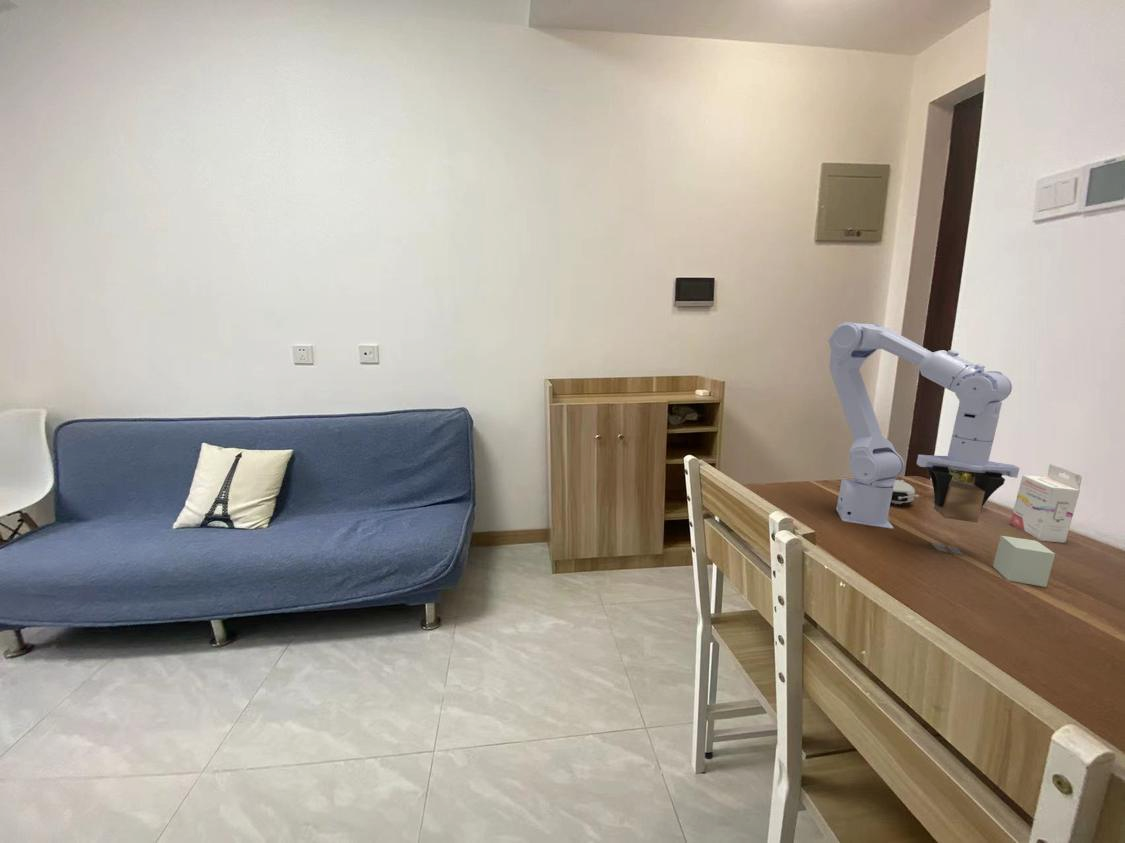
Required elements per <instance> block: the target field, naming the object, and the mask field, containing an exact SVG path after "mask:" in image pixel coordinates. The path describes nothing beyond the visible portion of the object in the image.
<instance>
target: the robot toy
mask: <svg viewBox="0 0 1125 843" xmlns="http://www.w3.org/2000/svg"><path fill="white" fill-rule="evenodd" d="M848 479H851V478H850V477H849V478H848ZM842 480H843V479H841V480H840V482H842ZM915 492H916V490H915V488H914V487H913V486H912V485H911V484H909V483H908V482H905V480H904V479H901V480H899V479H895V483H894V488H893V493H892V498H891V502H892V503H891V504H893V503H896V504H895V505H897V504H899V505H902V504H903V503H904V504H905V503H911V502H913V501H914V499H915V498H918V497H920V495H919V494H915Z"/></svg>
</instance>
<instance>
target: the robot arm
mask: <svg viewBox="0 0 1125 843" xmlns="http://www.w3.org/2000/svg"><path fill="white" fill-rule="evenodd" d="M832 331H833V332H832V333H831V335H830V337H829V338H828V340H827V342H828V345H829V347H830V357H829V366H828V367H829V371H830V375H831V378H832V381H833V384H834V387H835V389H836V393H837V394H838V396H837V397H838V398H839V401H840V404H841V408H842V410H843V411H842V412H843V413H844V416H845V419H846V422H847V425H848V428H849V431H850V435H851V437H852V440H853V443H852V445H851V447H850V448H849V450H848V454H849V458H850V462H849V470H850V473H851V475H852V477H853V478H850V479H849V478H842V479H841V480H842V482H841V481H840V482H841V483H840V485H839V486H840V487H839V493H838V496H837V497H838V500H837V505H836V508H835V510H836V511H837V513H838V516H839V517H840V519H841V521H842V522H845V523H846V522H847V523H853V524H861V525H866V526H873V527H879V528H887V529H894V526H893V525H892V523H891V522H890V520H889V519H888V518H889V513H890V508H891V507H890V506H891V504H892V503H891V498H892V493H893V488H894V483H895V480H896V478H898V477H899V476H901V475H902V474H903V472H904V470H905V462H904V459H903V457H902V456H901V455H900V454H899V453H898V452H897V451H896V449H895V447H894V444H893V443H892V442H891V441H889V440H888V439H887V438H886V437H885V436H884V435H883V433H882V431H881V428H880V425H879V421H878V419H877V416H876V413H875V410H874V408H873V405H872V402H871V399H870V397H869V394H868V391H867V387H866V385H865V383H864V380H863V376H862V374H861V371H860V369H861V367H862V366H863V364H864V362H865V361H866V360H867V359H868V358H870V357H871V356H872V355H873V354H874V353H875V352H877V350H883V351H886V352H888V353H890V354H891V355H894V356H896V357H897V358H898V357H899V358H900V359H903V360H905V361H907V362H910V363H911V364H914V365H916V366H918V367H919V371H920V374H921V376H922V377H924V378H926V379H928V380H929V381H931V382H933V383H935V384H938V385H939V386H942V387H943V388H944V389H946V390H948V391H951V392H952V393H954V394H955V396H956V398H957V399H958V401H959V404H958V408H957V412H956V416H955V421H954V424H953V430H952V435H951V440H950V443H949V449H948V452H947V455H931V454H930V455H928V454H927V455H926V454H918V455H917V459H916V465H917V466H918V467H921V468H926V469H927V472H928V474H929V477H930V480H931V482H932V488H933V496H934V502H933V503H934V505H935V504H936V505H937V506H939V507H943V505H944V502H945V497H946V492H947V489H948V486H949V483H950V481H951V479H952V477H953V476H952V475H951V474H950V473H949V471H948V469H953V470H961V471H970V472H975V486H977V487H979V488H980V489H982V490H983V491H985V494H984V498H983V502H982V507H981V510H982V508H983V507H984V505H985V504H986V502H987V501H988V500H989V498H990V497H991V496H992V495H993V494H994V493H995V492H996V491H997V490H998V489H999V488H1000V487H1002V486H1003V485H1004V484H1005V481H1006V478H1004V477H1003V476H1006V477H1009V478H1015V479H1016V478H1018V476H1019V472H1020V467H1019V466H1018V465H1015V464H1009V463H1002V462H997V461H996V462H995V461H991V460H989V459H990V456H991V452H992V447H993V445H994V444H993V443H994V439H995V435H996V431H997V427H998V423H999V418H1000V412H1001V408H1002V406H1003V405H1002V404H1003V401H1004V400H1006V399H1007V398H1008V397H1009V396H1010V395H1011V392H1012V389H1013V385H1012V381H1011V380H1010V379H1009V378H1008V377H1007V376H1006V375H1005V374H1003V373H1002V372H1001V371H998V370H988V371H985V368H986V366H985V365H983V364H981V363H977V364H974V363H973V362H970V361H968V360H965V359H964V358H962V357H959V354H960V353H959V352H958V351H956V350H948V351H947V350H945V349H944V350H943V349H942V350H937V351H934V352H932V351H931V350H928V348H925V347H924V346H922V345H919V344H918V343H917V342H915V341H913V340H911V339H908V338H907V337H905V336H904V335H901V334H900V333H898V332H895V331H894V330H892V329H890V328H888V327H885V326H881V325H880V324H877V323H874V322H873V323H870V322H869V323H858V322H857V323H856V322H852V321H851V322H850V321H845V322H843V323H840V324H839V325H838V326H836V327H835V329H834V330H832ZM955 466H956V467H955Z"/></svg>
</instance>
